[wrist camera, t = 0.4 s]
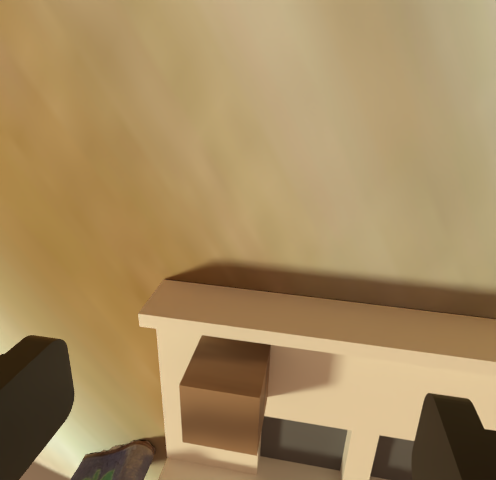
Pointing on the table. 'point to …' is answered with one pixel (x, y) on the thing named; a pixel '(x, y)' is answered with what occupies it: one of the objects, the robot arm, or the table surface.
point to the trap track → (321, 379)
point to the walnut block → (225, 394)
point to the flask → (117, 463)
